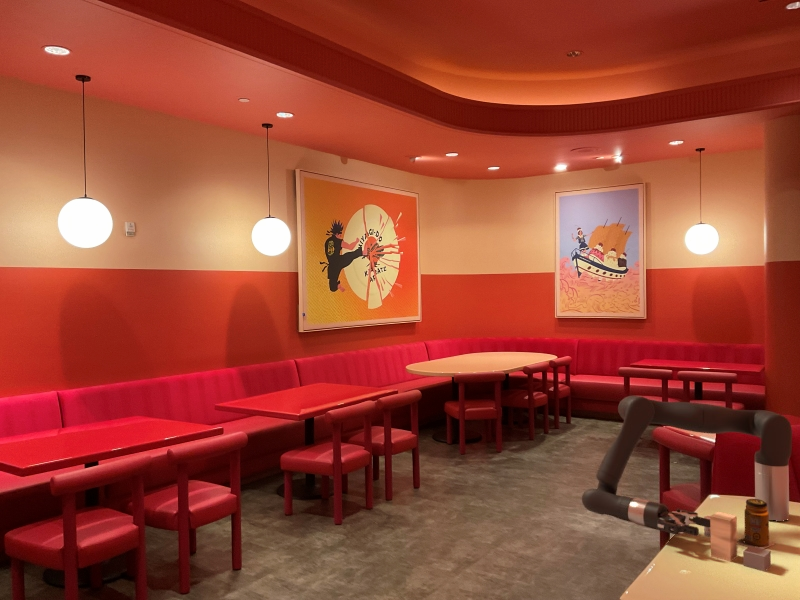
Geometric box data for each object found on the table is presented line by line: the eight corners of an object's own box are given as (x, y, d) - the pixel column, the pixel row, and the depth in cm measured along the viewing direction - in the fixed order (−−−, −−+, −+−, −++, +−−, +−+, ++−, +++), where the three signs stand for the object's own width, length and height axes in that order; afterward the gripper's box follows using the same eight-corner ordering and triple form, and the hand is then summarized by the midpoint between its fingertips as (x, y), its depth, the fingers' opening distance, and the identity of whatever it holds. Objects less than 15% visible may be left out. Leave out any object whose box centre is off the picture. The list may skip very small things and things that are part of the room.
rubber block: (749, 560, 170) (749, 545, 169) (770, 566, 166) (770, 550, 166) (743, 566, 166) (743, 551, 166) (764, 572, 162) (764, 556, 162)
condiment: (775, 544, 180) (775, 502, 180) (760, 551, 175) (759, 508, 175) (749, 536, 186) (749, 495, 186) (733, 542, 181) (733, 501, 181)
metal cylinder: (707, 531, 190) (707, 514, 190) (721, 535, 187) (721, 518, 187) (702, 535, 187) (701, 518, 187) (716, 538, 184) (716, 521, 184)
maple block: (717, 550, 176) (717, 511, 176) (737, 556, 172) (736, 515, 172) (710, 556, 172) (710, 516, 172) (730, 561, 169) (729, 520, 169)
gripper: (636, 507, 183) (693, 521, 171) (658, 495, 193) (714, 507, 181) (636, 533, 183) (694, 548, 171) (658, 520, 193) (714, 534, 181)
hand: (704, 527), depth 176 cm, fingers open, 8 cm apart
